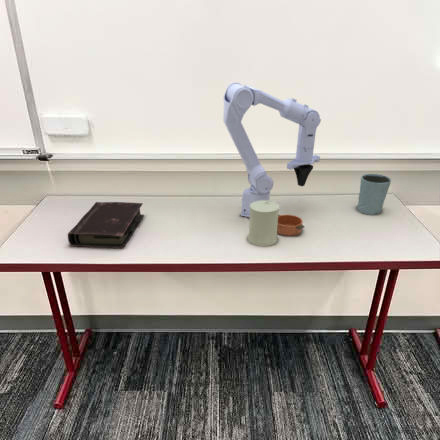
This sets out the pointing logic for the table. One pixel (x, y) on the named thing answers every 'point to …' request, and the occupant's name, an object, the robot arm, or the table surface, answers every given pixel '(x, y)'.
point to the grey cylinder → (372, 193)
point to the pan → (289, 225)
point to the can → (263, 223)
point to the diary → (106, 225)
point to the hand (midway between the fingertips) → (301, 185)
